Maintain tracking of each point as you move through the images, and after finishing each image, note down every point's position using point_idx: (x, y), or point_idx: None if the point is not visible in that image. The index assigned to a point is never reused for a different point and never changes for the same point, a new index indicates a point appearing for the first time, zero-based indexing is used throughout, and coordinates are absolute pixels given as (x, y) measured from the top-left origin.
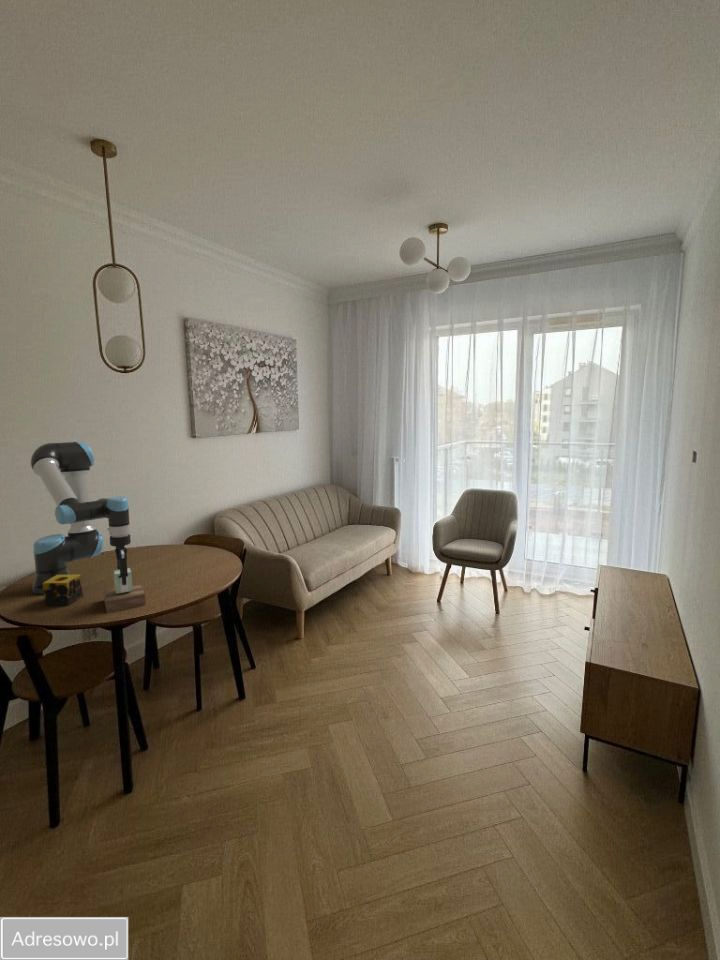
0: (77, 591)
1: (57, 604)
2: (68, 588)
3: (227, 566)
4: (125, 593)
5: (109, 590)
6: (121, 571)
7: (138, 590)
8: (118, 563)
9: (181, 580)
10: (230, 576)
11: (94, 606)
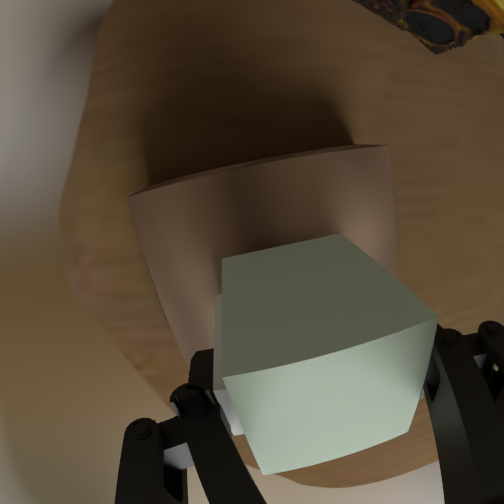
0: (429, 18)
1: None
2: None
3: (420, 462)
4: None
5: (361, 188)
6: (121, 486)
7: None
8: (461, 431)
9: None
10: (351, 486)
11: (275, 98)
